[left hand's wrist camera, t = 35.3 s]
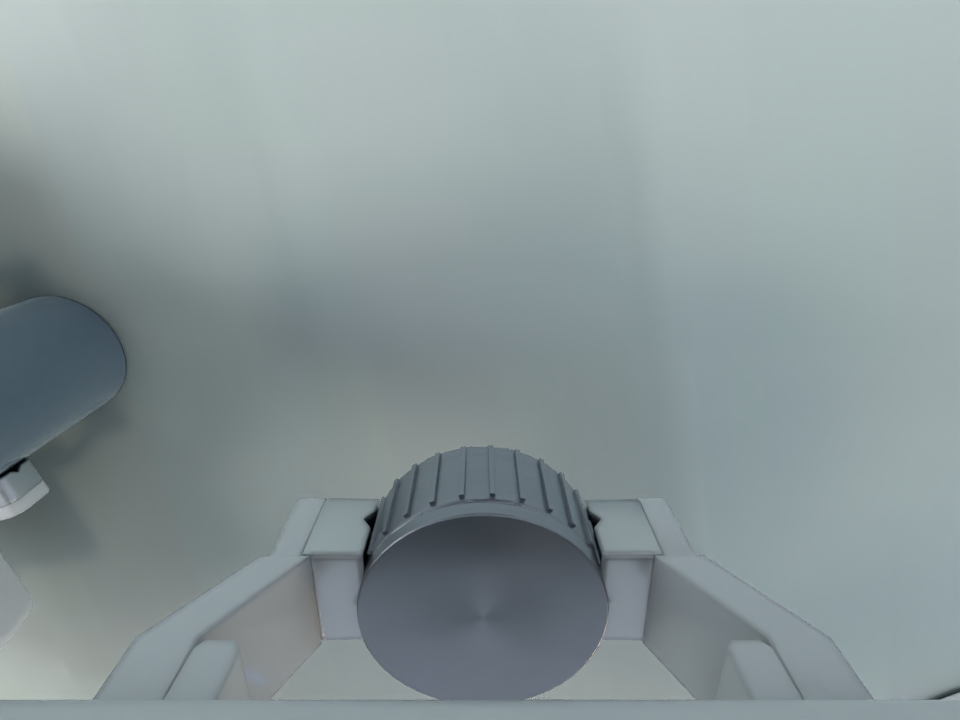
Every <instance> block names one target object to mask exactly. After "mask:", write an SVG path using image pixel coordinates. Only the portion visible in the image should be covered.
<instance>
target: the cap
mask: <svg viewBox="0 0 960 720" xmlns="http://www.w3.org/2000/svg"><path fill="white" fill-rule="evenodd" d="M593 535H594V530H593V526H592V523H591V521H590V520H588V517H587V513H586V509H584V508H583V505H582V501H581V498H580V494H579V491H578V490H577V489H576V490H573V488H572V487H571V486H570V485H569V484H568V482H567V481H566V480H565V477H564V474H563V473H561V472H560V473H559V474H558V473H557V472H556V471H555V470H553V469H552V468H550V467H549V466H548V465H547V464H545V463H544V460H542V459H539V460H537V459H535V458H533V457H531V456H528V455H525V454H522V453H520V451H519V450H516V449H515V451H514V450H511V449H510V450H509V449H505V448H494V447H493V446H491V445H488V447H466V446H464V447H461V449H457V450H453V451H449V452H445V453H442V454H440V452H439V453H436V454H435V456H433V457H431V458H428V459H427V460H426V461H424V462H422V463H420V464H419V465H417V464H414V465H413V466H412V470H410V471H409V472H407V473H406V474H405V475H404V476H403V477H402V478H400V480H398V479H396V480H395V481H394V484H393V488H392V489H391V490H390V492H389V493H388V495H387V497H386V498H385V497H382V499H381V502H380V506H379V509H378V513H377V517H376V521H375V525H374V528H373V531H371V540H370V544H369V547H368V551H367V554H368V558H367V562H366V566H365V570H364V574H363V577H362V581H361V585H360V589H359V594H358V598H357V618H358V625H359V628H360V631H361V635H362V638H363V640H364V642H365V644H366V646H367V648H368V650H369V651H370V653H371V654H372V655H373V657H374V658H375V660H376V661H377V662H378V663H379V664H380V665H381V666H382V667H383V668H384V669H385V670H386V671H387V672H388V673H389V674H391V675H392V676H393V677H394V678H396V679H397V680H399V681H400V682H402V683H403V684H405V685H406V686H408V687H410V688H412V689H414V690H416V691H418V692H421V693H423V694H426V695H428V696H431V697H434V698H438V699H441V700H523V699H527V698H530V697H534V696H536V695H539V694H541V693H544V692H546V691H549V690H551V689H552V688H554V687H556V686H558V685H560V684H562V683H563V682H565V681H566V680H567V679H569V678H570V677H572V676H573V675H574V674H575V673H577V672H578V671H579V670H580V669H581V668H582V667H583V666H584V665H585V664H586V663H587V662H588V661H589V659H590V658H591V657H592V656H593V654H594V653H595V651H596V650H597V648H598V646H599V644H600V642H601V640H602V638H603V636H604V633H605V629H606V626H607V622H608V613H609V603H608V594H607V590H606V586H605V582H604V579H603V575H602V572H601V568H600V565H601V563H600V559H599V556H598V552H597V549H596V545H595V542H594V538H593Z"/></svg>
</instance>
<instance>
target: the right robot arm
mask: <svg viewBox="0 0 960 720" xmlns="http://www.w3.org/2000/svg"><path fill="white" fill-rule="evenodd" d="M49 490H50V489H49V488H48V486H47V485H46V483H45V482H44V481H43V479H42V477H41V476H40V474H39V473H38V471H37V470H36V469H35V467H34V466H33V464H32V463H31V461H30V460H29V459H28V458H25V459H23V460H22V461H20V462H19V463H18V464H16V465H15V466H13V467H12V468H10V469H9V470H7V471H6V472H4V473H3V474H2V475H0V521H1V520H5V519H9V518H12V517H14V516H16V515H18V514H20V513H22V512H24V511H26V510H27V509H29V508H30V507H31V506H32V505H34V504H35V503H36V502H37V501H39V500H40V499H41V498H42V497H44V496H45V495H46V494H47V493H48V492H49ZM32 605H33V598H32V595H31V594H30V592H29V590H28V589H27V588H26V586H25V585H24V584H23V582H22V581H21V580H20V578H19V577H18V575H17V574H16V573H15V571H14V570H13V569H12V567H11V566H10V565H9V563H8V562H7V560H6V559H5V558H4V556H3V555H2V554H1V552H0V650H1V649H2V648H3V647H4V646H5V644H6V643H7V642H8V641H9V640H10V639H11V638H12V637H13V636H14V634H15V633H16V632H17V631H18V630H19V628H20V627H21V626H22V624H23V623H24V621H25V619H26V617H27V616H28V614H29V612H30V610H31V608H32Z"/></svg>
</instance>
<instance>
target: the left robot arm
mask: <svg viewBox="0 0 960 720" xmlns="http://www.w3.org/2000/svg"><path fill="white" fill-rule="evenodd" d="M380 502H381V501H380V499H341V498H328V499H326V498H301V499H300V500H298V501H297V502H296V504H295V506H294V508H293V510H292V512H291V514H290V516H289V518H288V520H287V522H286V524H285V526H284V528H283V530H282V532H281V534H280V536H279V537H278V539H277V541H276V543H275V545H274V547H273V549H272V551H271V553H270V555H268V556H260V557H258V558H257V559H255V560H254V561H252V562H251V563H249V564H248V565H246V566H245V567H243V568H242V569H240V570H239V571H237V572H235V573H234V574H232V575H231V576H229V577H228V578H226V579H225V580H223V581H222V582H220V583H219V584H217V585H216V586H214V587H212V588H211V589H209V590H208V591H206V592H205V593H203V594H202V595H200V596H199V597H197V598H196V599H194V600H193V601H191V602H189V603H188V604H186V605H185V606H183V607H182V608H180V609H179V610H177V611H176V612H174V613H173V614H171V615H170V616H168V617H166V618H165V619H163V620H162V621H160V622H159V623H157V624H156V625H154V626H153V627H151V628H150V629H148V630H146V631H145V632H143V633H142V634H140V635H139V636H137V637H136V638H135V639H134V641H133V642H132V644H131V645H130V646H129V648H128V649H127V651H126V652H125V654H124V655H123V657H122V658H121V659H120V661H119V662H118V664H117V665H116V667H115V668H114V670H113V671H112V672H111V674H110V675H109V677H108V678H107V680H106V681H105V683H104V684H103V685H102V687H101V688H100V690H99V691H98V693H97V694H96V696H95V697H94V698H93V700H0V720H960V692H959V693H956V694H953V695H950V696H948V697H945V698H942V699H940V700H874V699H873V698H872V696H871V695H870V693H869V692H868V690H867V689H866V688H865V686H864V685H863V683H862V682H861V680H860V679H859V678H858V676H857V675H856V673H855V672H854V670H853V669H852V668H851V666H850V665H849V663H848V662H847V660H846V659H845V658H844V656H843V655H842V653H841V652H840V650H839V649H838V647H837V646H836V645H835V643H834V642H833V640H832V639H831V638H830V637H828V636H827V635H825V634H824V633H822V632H820V631H819V630H817V629H816V628H814V627H813V626H811V625H810V624H808V623H807V622H805V621H803V620H802V619H800V618H799V617H797V616H796V615H794V614H793V613H791V612H790V611H788V610H787V609H785V608H783V607H782V606H780V605H779V604H777V603H776V602H774V601H773V600H771V599H770V598H768V597H766V596H765V595H763V594H762V593H760V592H759V591H757V590H756V589H754V588H753V587H751V586H750V585H748V584H746V583H745V582H743V581H742V580H740V579H739V578H737V577H736V576H734V575H733V574H731V573H729V572H728V571H726V570H725V569H723V568H722V567H720V566H719V565H717V564H716V563H714V562H713V561H711V560H709V559H708V558H706V557H705V556H697V555H695V554H694V552H693V550H692V548H691V546H690V544H689V542H688V540H687V539H686V537H685V535H684V533H683V531H682V529H681V527H680V525H679V523H678V521H677V519H676V518H675V516H674V514H673V512H672V510H671V508H670V506H669V504H668V502H667V501H666V500H665V499H664V498H640V499H622V500H583V503H582V505H583V508H584V509H586V513H587V517H588V520H590V521H591V523H592V526H593V530H594V535H593V538H594V542H595V545H596V549H597V552H598V556H599V559H600V563H601V565H600V568H601V572H602V575H603V579H604V582H605V586H606V590H607V594H608V603H609V613H608V622H607V626H606V629H605V633H604V636H603V638H602V639H616V640H643V643H644V645H645V646H646V647H647V648H648V649H649V650H650V651H651V652H652V653H653V654H654V655H655V656H656V657H657V658H658V660H659V661H660V662H661V663H662V664H663V665H664V666H665V667H666V668H667V669H668V670H669V671H670V672H671V673H672V675H673V676H674V677H675V678H676V679H677V680H678V681H679V682H680V683H681V684H682V685H683V686H684V687H685V689H686V690H687V691H688V692H689V693H690V694H691V695H692V696H693V697H694V698H695V699H696V700H269V699H270V698H271V697H272V696H273V695H274V694H275V693H276V692H277V691H278V690H279V689H280V688H281V686H282V685H283V684H284V683H285V682H286V681H287V680H288V679H289V678H290V677H291V676H292V675H293V673H294V672H295V671H296V670H297V669H298V668H299V667H300V666H301V665H302V664H303V663H304V662H305V661H306V659H307V658H308V657H309V656H310V655H311V654H312V653H313V652H314V651H315V650H316V649H317V648H318V647H319V645H320V644H321V643H322V642H321V640H348V639H363V638H362V635H361V631H360V628H359V625H358V618H357V598H358V594H359V589H360V585H361V581H362V577H363V574H364V570H365V566H366V562H367V558H368V554H367V551H368V547H369V544H370V540H371V531H373V528H374V525H375V521H376V517H377V513H378V509H379V506H380Z"/></svg>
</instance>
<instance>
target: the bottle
mask: <svg viewBox="0 0 960 720" xmlns="http://www.w3.org/2000/svg"><path fill="white" fill-rule="evenodd" d="M125 371H126V364H125V357H124V352H123V350H122V347H121V344H120V342H119V340H118V338H117V337H116V335H115V334H114V332H113V331H112V329H111V328H110V327H109V326H108V324H107V323H106V322H105V321H104V320H103V319H102V318H100V317H99V316H98V315H97V314H96V313H94V312H93V311H91V310H90V309H88V308H87V307H85V306H83V305H81V304H79V303H77V302H74V301H72V300H68V299H65V298H60V297H54V296H41V297H35V298H31V299H28V300H25V301H22V302H19V303H16V304H14V305H11V306H8V307H5V308H2V309H0V475H2V474H3V473H4V472H6V471H7V470H9V469H10V468H12V467H13V466H15V465H16V464H18V463H19V462H20V461H22V460H23V459H25V458H26V457H28V456H29V455H31V454H32V453H34V452H35V451H36V450H38V449H39V448H41V447H42V446H44V445H45V444H47V443H48V442H50V441H51V440H52V439H54V438H55V437H57V436H58V435H60V434H61V433H63V432H64V431H66V430H67V429H68V428H70V427H71V426H73V425H74V424H76V423H77V422H79V421H80V420H82V419H83V418H84V417H86V416H87V415H89V414H90V413H92V412H93V411H95V410H96V409H98V408H99V407H100V406H102V405H103V404H105V403H106V402H108V401H109V400H110V399H112V398H113V397H114V396H115V395H116V394H117V393H118V391H119V389H120V388H121V386H122V384H123V381H124V377H125Z"/></svg>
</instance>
